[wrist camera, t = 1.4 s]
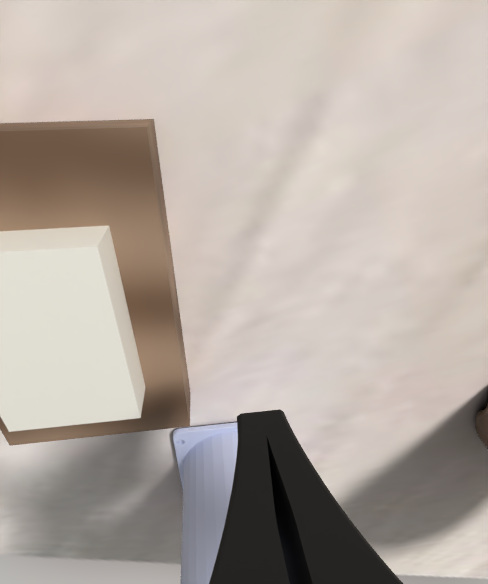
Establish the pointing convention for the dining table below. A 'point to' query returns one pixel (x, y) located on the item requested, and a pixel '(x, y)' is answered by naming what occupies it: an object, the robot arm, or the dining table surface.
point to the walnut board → (125, 235)
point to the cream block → (65, 331)
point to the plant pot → (482, 425)
